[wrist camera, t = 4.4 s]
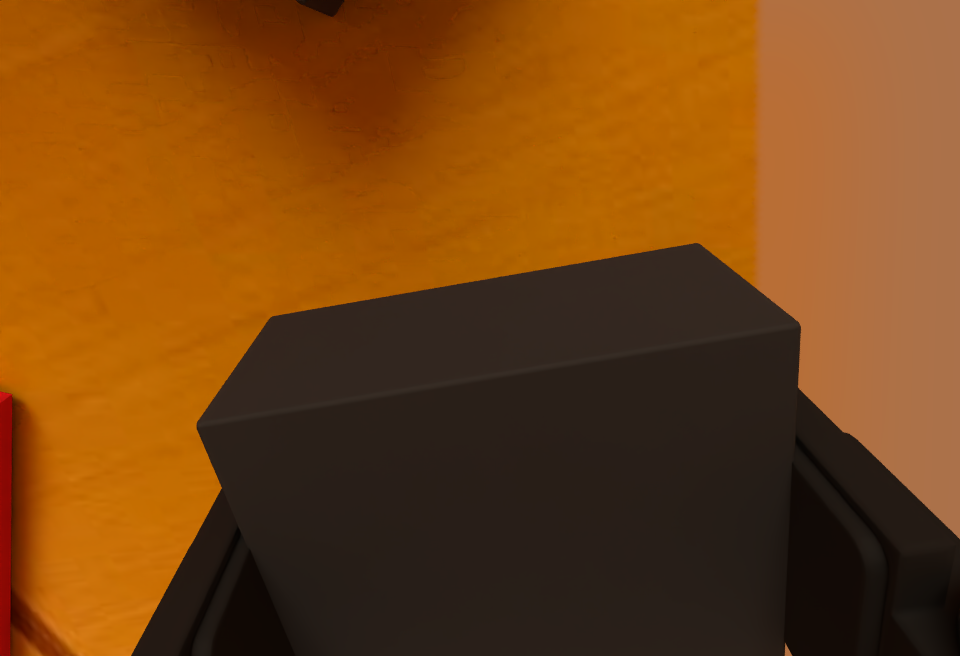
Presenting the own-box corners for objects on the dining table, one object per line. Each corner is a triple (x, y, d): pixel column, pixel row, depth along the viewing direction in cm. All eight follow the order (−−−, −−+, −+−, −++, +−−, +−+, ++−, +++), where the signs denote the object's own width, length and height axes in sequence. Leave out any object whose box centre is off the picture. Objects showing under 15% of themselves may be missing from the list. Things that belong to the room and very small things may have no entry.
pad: (269, 315, 9) (192, 425, 7) (698, 241, 9) (803, 322, 6) (372, 618, 12) (347, 786, 9) (706, 567, 12) (782, 724, 9)
